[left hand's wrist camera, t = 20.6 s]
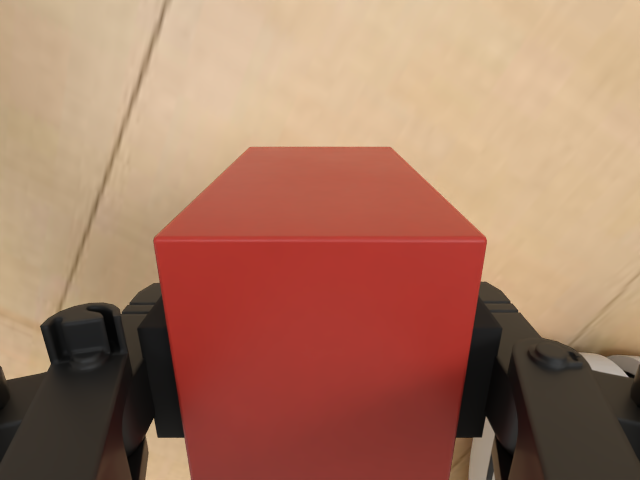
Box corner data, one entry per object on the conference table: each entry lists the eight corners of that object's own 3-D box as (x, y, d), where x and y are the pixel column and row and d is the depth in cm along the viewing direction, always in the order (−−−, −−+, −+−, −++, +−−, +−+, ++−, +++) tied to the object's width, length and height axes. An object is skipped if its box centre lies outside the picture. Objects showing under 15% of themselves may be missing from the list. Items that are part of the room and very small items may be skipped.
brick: (381, 305, 18) (442, 530, 9) (258, 305, 18) (197, 530, 9) (391, 146, 15) (489, 237, 6) (248, 146, 15) (150, 238, 6)
